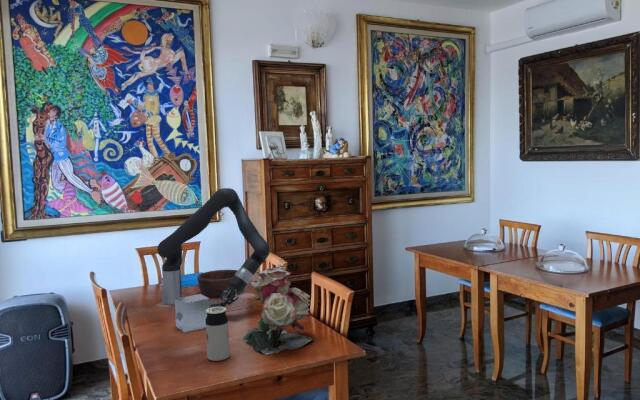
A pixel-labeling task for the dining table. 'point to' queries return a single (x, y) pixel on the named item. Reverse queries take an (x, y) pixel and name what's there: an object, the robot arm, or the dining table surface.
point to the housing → (191, 312)
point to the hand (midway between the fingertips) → (218, 310)
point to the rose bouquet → (278, 313)
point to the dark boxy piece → (212, 304)
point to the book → (189, 279)
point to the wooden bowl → (215, 282)
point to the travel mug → (217, 334)
